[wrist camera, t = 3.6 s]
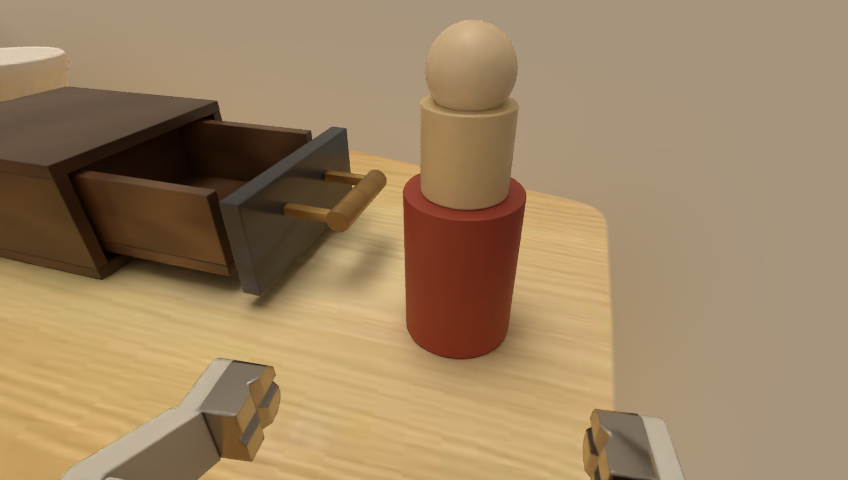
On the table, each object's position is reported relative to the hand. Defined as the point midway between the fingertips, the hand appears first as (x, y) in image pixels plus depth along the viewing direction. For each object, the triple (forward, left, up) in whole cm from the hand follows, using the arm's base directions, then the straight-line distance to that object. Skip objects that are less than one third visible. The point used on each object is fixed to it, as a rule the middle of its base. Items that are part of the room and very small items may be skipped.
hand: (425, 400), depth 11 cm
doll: (-6, -9, -7) cm, 13 cm away
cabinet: (+14, -32, -7) cm, 35 cm away
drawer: (+3, -23, -6) cm, 24 cm away
